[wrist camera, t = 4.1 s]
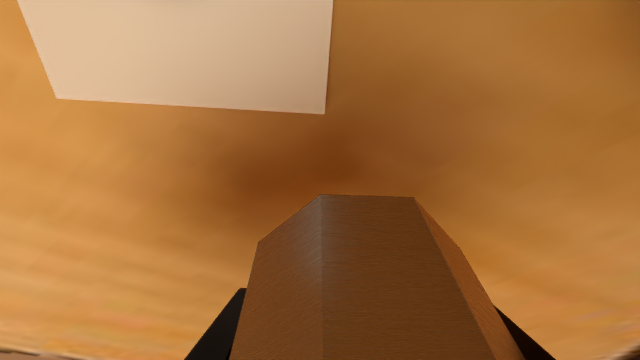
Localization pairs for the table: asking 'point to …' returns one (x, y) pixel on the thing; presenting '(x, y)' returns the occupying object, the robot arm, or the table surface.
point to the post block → (186, 51)
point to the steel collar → (366, 289)
